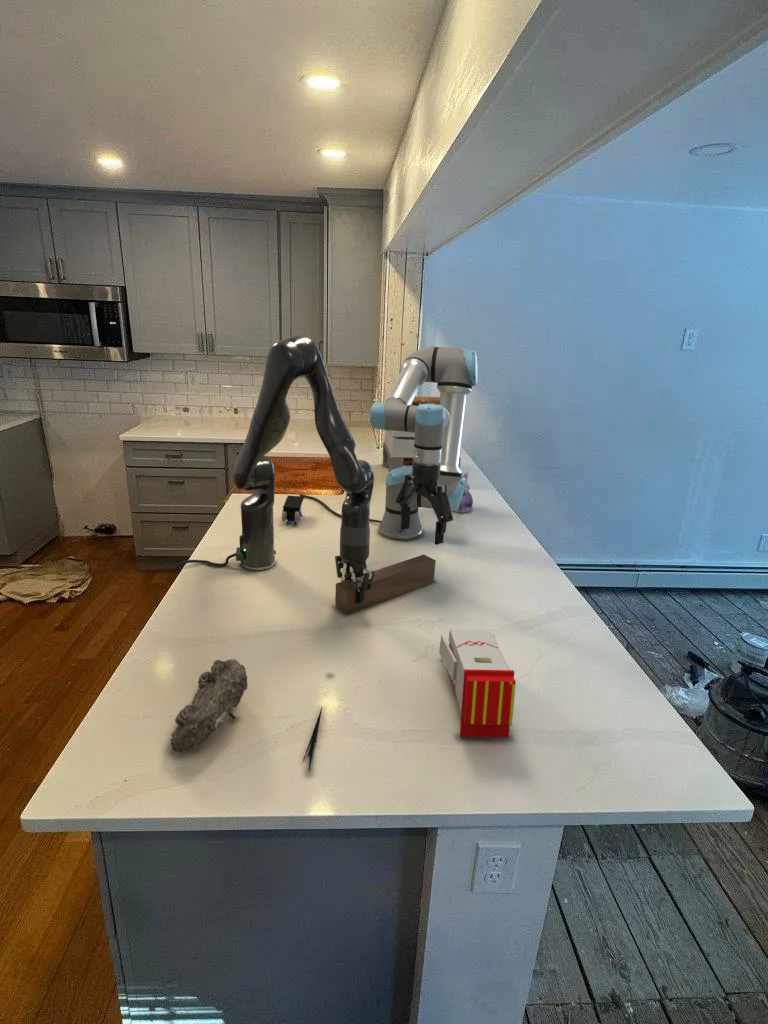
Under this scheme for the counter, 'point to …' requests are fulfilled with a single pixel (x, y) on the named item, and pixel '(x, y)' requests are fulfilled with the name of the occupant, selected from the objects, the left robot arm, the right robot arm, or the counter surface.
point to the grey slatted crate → (404, 441)
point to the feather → (313, 740)
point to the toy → (479, 682)
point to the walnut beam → (387, 583)
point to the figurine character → (292, 509)
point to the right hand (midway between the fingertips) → (421, 535)
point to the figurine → (465, 498)
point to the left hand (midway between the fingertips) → (353, 598)
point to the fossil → (210, 704)
